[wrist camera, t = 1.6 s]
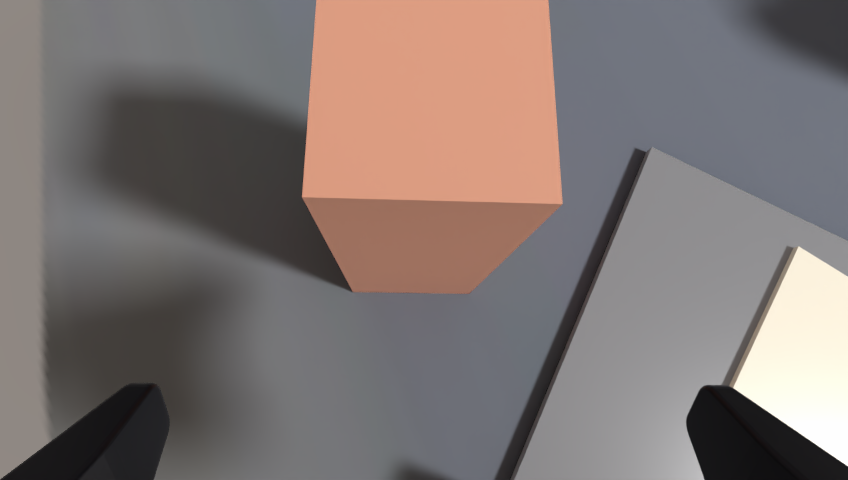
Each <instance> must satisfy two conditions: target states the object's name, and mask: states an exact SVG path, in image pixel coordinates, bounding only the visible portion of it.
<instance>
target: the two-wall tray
mask: <svg viewBox="0 0 848 480" xmlns="http://www.w3.org/2000/svg"><path fill="white" fill-rule="evenodd" d="M704 385H727V386H730V387H732V388H734V389H735V390H737V391H738V392H740V393H741V394H743V395H744V396H746V397H747V398H749V399H750V400H752V401H753V402H754V403H756V404H757V405H759V406H760V407H762V408H763V409H765V410H766V411H768V412H769V413H771V414H772V415H774V416H775V417H776V418H778V419H779V420H781V421H782V422H784V423H785V424H787V425H788V426H790V427H791V428H793V429H794V430H796V431H797V432H798V433H800V434H801V435H803V436H804V437H806V438H807V439H809V440H810V441H812V442H813V443H815V444H816V445H818V446H819V447H820V448H822V449H823V450H825V451H826V452H828V453H829V454H831V455H832V456H834V457H835V458H837V459H838V460H840V461H841V462H842V463H844V464H845V465H847V466H848V241H847V240H845V239H843V238H840V237H838V236H836V235H834V234H832V233H830V232H828V231H826V230H824V229H822V228H820V227H818V226H815V225H813V224H811V223H809V222H807V221H805V220H803V219H801V218H799V217H797V216H795V215H792V214H790V213H788V212H786V211H784V210H782V209H780V208H778V207H776V206H774V205H772V204H770V203H767V202H765V201H763V200H761V199H759V198H757V197H755V196H753V195H751V194H749V193H747V192H745V191H742V190H740V189H738V188H736V187H734V186H732V185H730V184H728V183H726V182H724V181H722V180H719V179H717V178H715V177H713V176H711V175H709V174H707V173H705V172H703V171H701V170H699V169H697V168H694V167H692V166H690V165H688V164H686V163H684V162H682V161H680V160H678V159H676V158H674V157H672V156H669V155H667V154H665V153H663V152H661V151H659V150H657V149H655V148H653V147H651V148H650V149H649V150H648V151H647V152H646V154H645V157H644V159H643V161H642V164H641V166H640V169H639V171H638V173H637V176H636V178H635V181H634V183H633V185H632V188H631V190H630V193H629V195H628V197H627V200H626V202H625V205H624V207H623V209H622V212H621V214H620V217H619V219H618V221H617V224H616V226H615V229H614V231H613V234H612V236H611V238H610V241H609V243H608V246H607V248H606V250H605V253H604V255H603V258H602V260H601V262H600V265H599V267H598V270H597V272H596V274H595V277H594V279H593V282H592V284H591V286H590V289H589V291H588V294H587V296H586V298H585V301H584V303H583V306H582V308H581V311H580V313H579V315H578V318H577V320H576V323H575V325H574V327H573V330H572V332H571V335H570V337H569V339H568V342H567V344H566V347H565V349H564V351H563V354H562V356H561V359H560V361H559V363H558V366H557V368H556V371H555V373H554V376H553V378H552V380H551V383H550V385H549V388H548V390H547V392H546V395H545V397H544V400H543V402H542V404H541V407H540V409H539V412H538V414H537V416H536V419H535V421H534V424H533V426H532V428H531V431H530V433H529V436H528V438H527V440H526V443H525V445H524V448H523V450H522V453H521V455H520V457H519V460H518V462H517V465H516V467H515V469H514V472H513V474H512V477H511V479H510V480H704V477H703V474H702V471H701V468H700V466H699V463H698V460H697V457H696V454H695V452H694V449H693V446H692V443H691V440H690V438H689V435H688V432H687V427H686V418H687V415H688V412H689V410H690V408H691V406H692V404H693V402H694V400H695V398H696V396H697V394H698V391H699V390H700V388H701V387H703V386H704Z"/></svg>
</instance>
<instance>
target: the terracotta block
mask: <svg viewBox="0 0 848 480" xmlns="http://www.w3.org/2000/svg"><path fill="white" fill-rule="evenodd" d="M302 198H303V200H304V202H305V204H306V205H307V207H308V209H309V211H310V213H311V215H312V217H313V219H314V220H315V222H316V224H317V226H318V228H319V230H320V232H321V233H322V235H323V237H324V239H325V241H326V243H327V245H328V246H329V248H330V250H331V252H332V254H333V256H334V258H335V259H336V261H337V263H338V265H339V267H340V269H341V271H342V273H343V274H344V276H345V278H346V280H347V282H348V284H349V286H350V287H351V289H352V291H353V292H388V293H454V294H469V293H470V292H471V291H472V290H474V289H475V288H476V287H477V286H478V285H479V284H480V283H481V282H482V281H483V280H484V279H485V278H486V277H487V276H488V275H489V274H490V273H491V272H492V271H493V270H494V269H495V268H496V267H497V266H499V265H500V264H501V263H502V262H503V261H504V260H505V259H506V258H507V257H508V256H509V255H510V254H511V253H512V252H513V251H514V250H515V249H516V248H517V247H518V246H519V245H520V244H521V243H522V242H523V241H525V240H526V239H527V238H528V237H529V236H530V235H531V234H532V233H533V232H534V231H535V230H536V229H537V228H538V227H539V226H540V225H541V224H542V223H543V222H544V221H545V220H546V219H547V218H548V217H550V216H551V215H552V214H553V213H554V212H555V211H556V210H557V209H558V208H559V207H560V206H561V205H562V190H561V175H560V161H559V147H558V132H557V118H556V104H555V89H554V75H553V61H552V46H551V32H550V18H549V4H548V0H317V1H316V15H315V28H314V42H313V55H312V69H311V83H310V96H309V110H308V123H307V137H306V151H305V164H304V178H303V191H302Z"/></svg>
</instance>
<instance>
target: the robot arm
mask: <svg viewBox="0 0 848 480" xmlns="http://www.w3.org/2000/svg"><path fill="white" fill-rule="evenodd" d="M169 423H170V421H169V415H168V412H167V408H166V405H165V402H164V399H163V396H162V393H161V390H160V388H159V386H158V385H157V384H155V383H130V384H128V385H126V386H124V387H123V388H121V389H120V390H119V391H117V392H116V393H115V394H113V395H112V396H111V397H109V398H108V399H107V400H105V401H104V402H103V403H101V404H100V405H99V406H97V407H96V408H95V409H93V410H92V411H91V412H89V413H88V414H87V415H85V416H84V417H83V418H81V419H80V420H79V421H77V422H76V423H75V424H73V425H72V426H71V427H69V428H68V429H67V430H65V431H64V432H63V433H61V434H60V435H59V436H57V437H56V438H55V439H53V440H52V441H51V442H49V443H48V444H47V445H45V446H44V447H43V448H42V449H40V450H39V451H37V452H36V453H35V454H34V455H32V456H31V457H30V458H28V459H27V460H26V461H24V462H23V463H22V464H20V465H19V466H18V467H16V468H15V469H14V470H12V471H11V472H10V473H8V474H7V475H6V476H4V477H3V478H2V479H0V480H154V477H155V474H156V471H157V467H158V464H159V461H160V457H161V454H162V451H163V448H164V444H165V441H166V438H167V435H168V431H169ZM686 427H687V432H688V435H689V438H690V440H691V443H692V446H693V449H694V452H695V454H696V457H697V460H698V463H699V466H700V468H701V471H702V474H703V477H704V480H848V466H847V465H845V464H844V463H842V462H841V461H840V460H838V459H837V458H835V457H834V456H832V455H831V454H829V453H828V452H826V451H825V450H823V449H822V448H820V447H819V446H818V445H816V444H815V443H813V442H812V441H810V440H809V439H807V438H806V437H804V436H803V435H801V434H800V433H798V432H797V431H796V430H794V429H793V428H791V427H790V426H788V425H787V424H785V423H784V422H782V421H781V420H779V419H778V418H776V417H775V416H774V415H772V414H771V413H769V412H768V411H766V410H765V409H763V408H762V407H760V406H759V405H757V404H756V403H754V402H753V401H752V400H750V399H749V398H747V397H746V396H744V395H743V394H741V393H740V392H738V391H737V390H735V389H734V388H732V387H730V386H727V385H704V386H703V387H701V388H700V390H699V391H698V394H697V396H696V398H695V400H694V402H693V404H692V406H691V408H690V410H689V412H688V415H687V418H686Z"/></svg>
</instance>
